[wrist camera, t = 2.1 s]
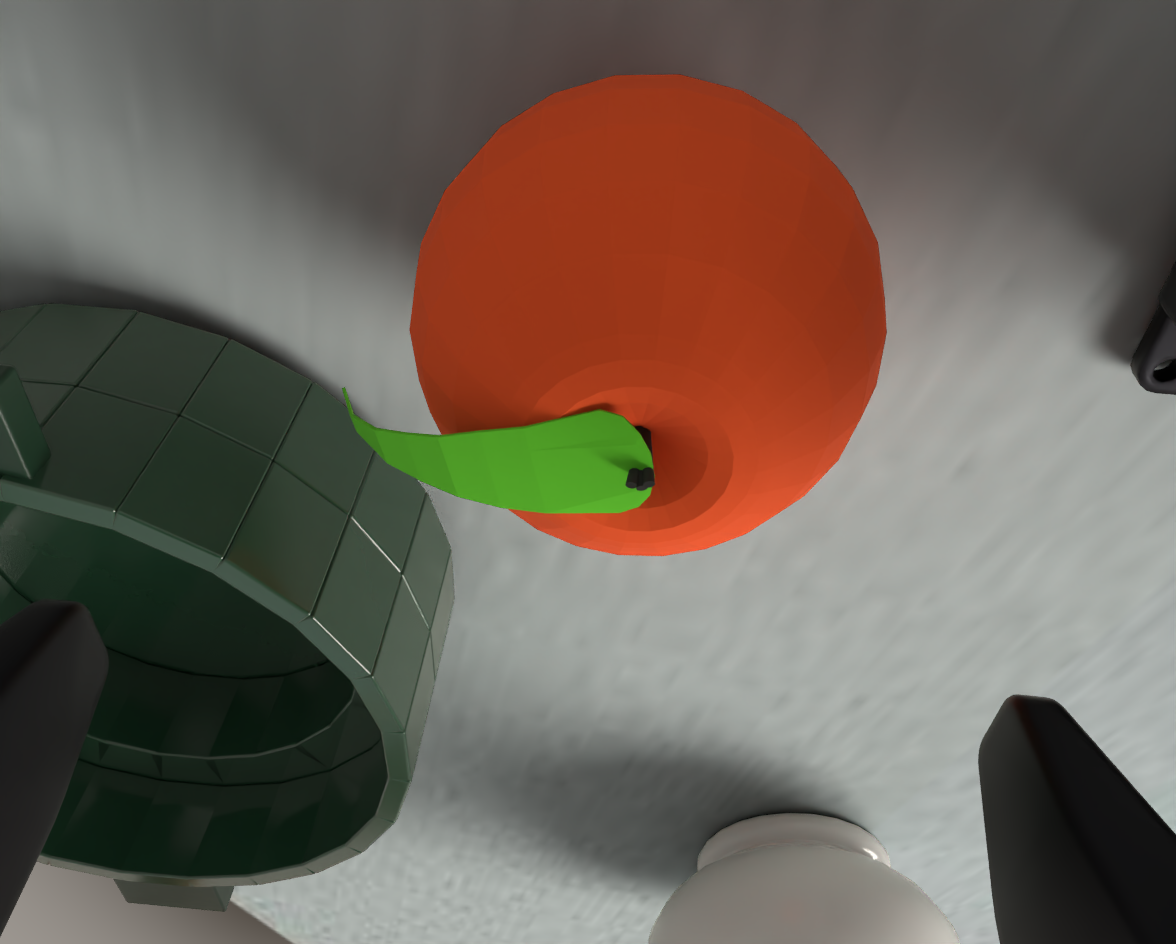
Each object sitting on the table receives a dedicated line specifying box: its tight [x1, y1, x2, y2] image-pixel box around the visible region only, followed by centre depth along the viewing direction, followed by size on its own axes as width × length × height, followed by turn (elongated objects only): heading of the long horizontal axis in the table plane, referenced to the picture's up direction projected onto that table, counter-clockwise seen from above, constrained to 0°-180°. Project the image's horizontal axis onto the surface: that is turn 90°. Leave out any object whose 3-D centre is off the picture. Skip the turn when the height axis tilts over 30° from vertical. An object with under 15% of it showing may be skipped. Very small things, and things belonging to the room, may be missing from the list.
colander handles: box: [0, 364, 234, 912], centre depth 19 cm, size 3×17×1 cm, turn 177°
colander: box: [0, 303, 454, 887], centre depth 21 cm, size 13×13×6 cm
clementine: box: [342, 74, 887, 556], centre depth 14 cm, size 8×7×7 cm
